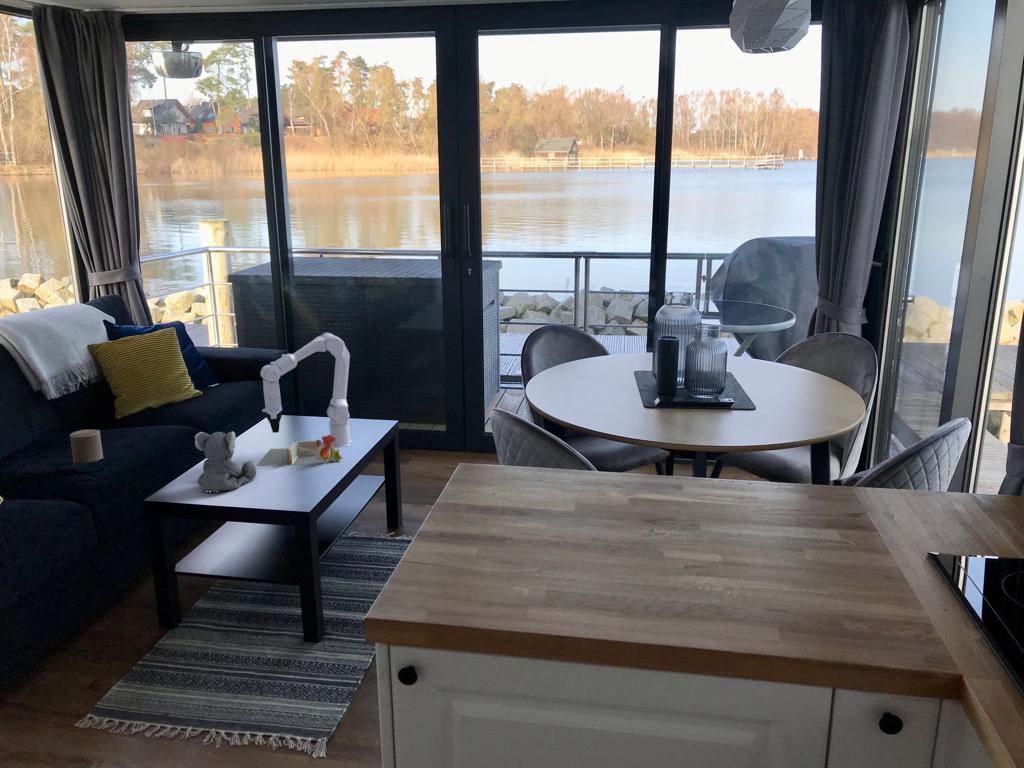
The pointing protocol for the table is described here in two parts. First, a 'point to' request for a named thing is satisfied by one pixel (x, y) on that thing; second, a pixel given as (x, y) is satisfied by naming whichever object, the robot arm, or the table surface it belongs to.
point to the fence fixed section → (308, 447)
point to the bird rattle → (324, 453)
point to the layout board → (280, 458)
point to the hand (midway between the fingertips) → (275, 432)
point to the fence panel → (292, 452)
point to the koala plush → (222, 463)
